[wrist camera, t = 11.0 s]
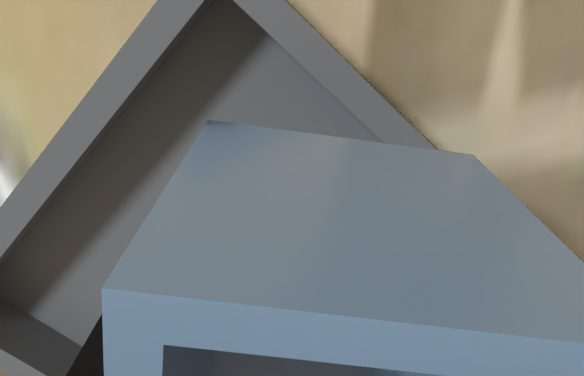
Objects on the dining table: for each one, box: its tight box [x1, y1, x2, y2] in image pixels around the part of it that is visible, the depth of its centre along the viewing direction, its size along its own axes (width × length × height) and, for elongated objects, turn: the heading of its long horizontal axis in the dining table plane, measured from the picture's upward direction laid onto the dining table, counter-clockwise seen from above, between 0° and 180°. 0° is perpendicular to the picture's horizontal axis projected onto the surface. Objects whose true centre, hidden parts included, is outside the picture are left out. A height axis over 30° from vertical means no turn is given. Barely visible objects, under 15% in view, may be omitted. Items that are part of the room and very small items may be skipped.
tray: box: [0, 0, 438, 376], centre depth 20 cm, size 19×18×3 cm
